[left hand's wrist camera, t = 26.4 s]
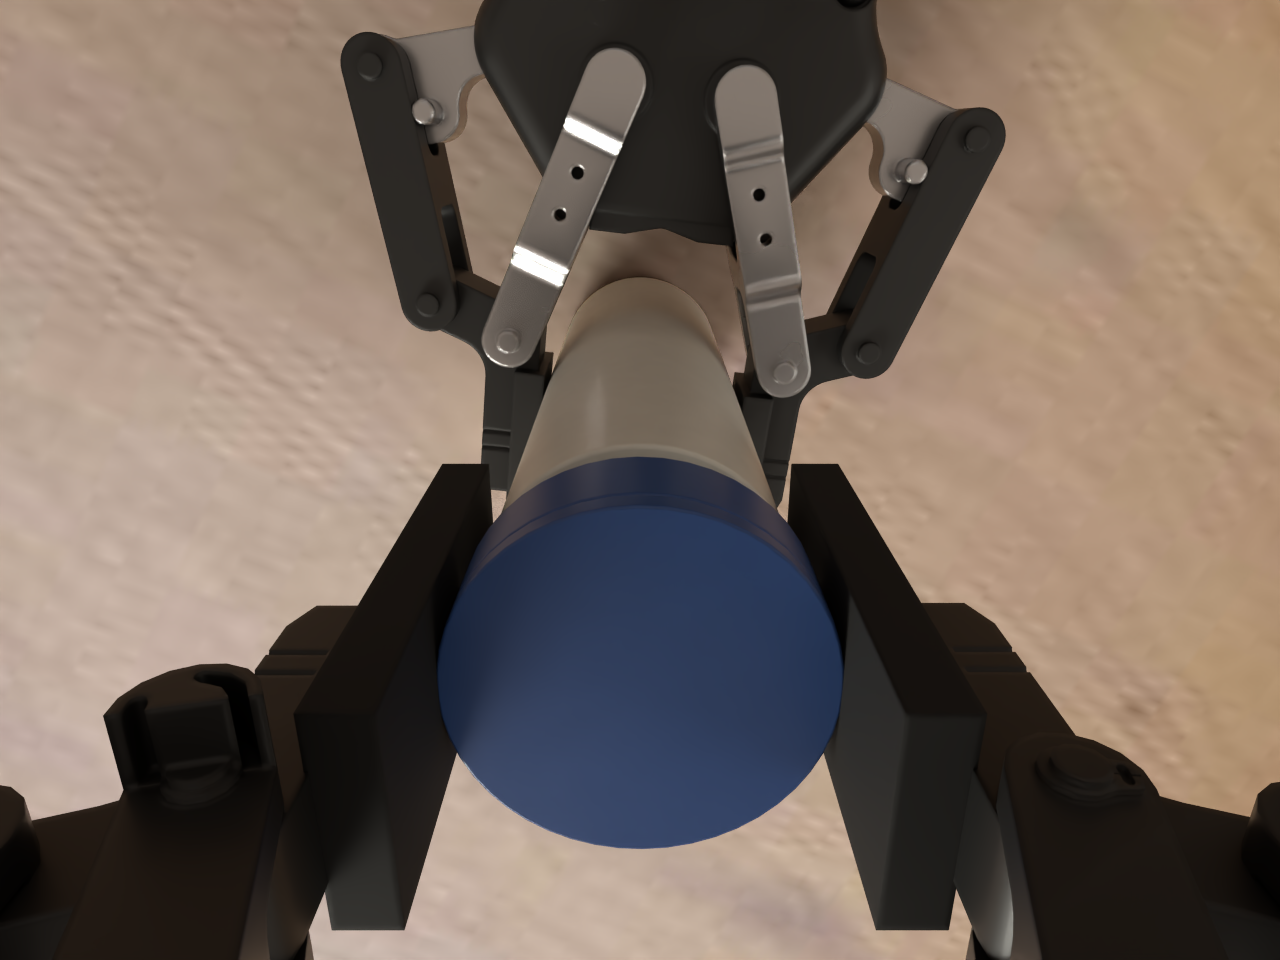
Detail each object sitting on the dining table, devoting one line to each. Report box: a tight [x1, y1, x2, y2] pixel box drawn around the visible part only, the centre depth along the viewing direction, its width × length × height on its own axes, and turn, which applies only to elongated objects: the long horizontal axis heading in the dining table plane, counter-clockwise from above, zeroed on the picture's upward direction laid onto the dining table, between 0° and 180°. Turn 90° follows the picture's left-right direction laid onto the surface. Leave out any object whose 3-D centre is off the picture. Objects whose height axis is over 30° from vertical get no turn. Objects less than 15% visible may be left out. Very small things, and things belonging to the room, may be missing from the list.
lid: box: [437, 457, 844, 849], centre depth 11 cm, size 5×5×2 cm
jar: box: [501, 277, 778, 514], centre depth 19 cm, size 5×5×16 cm
